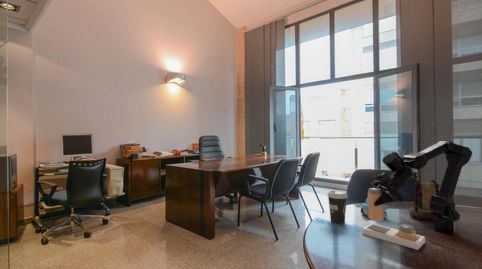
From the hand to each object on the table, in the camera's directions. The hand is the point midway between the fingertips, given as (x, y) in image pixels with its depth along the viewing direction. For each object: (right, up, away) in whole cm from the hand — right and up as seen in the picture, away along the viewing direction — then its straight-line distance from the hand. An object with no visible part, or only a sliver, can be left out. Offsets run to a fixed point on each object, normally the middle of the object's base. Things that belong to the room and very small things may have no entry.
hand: (372, 203), depth 107 cm
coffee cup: (-9, -14, +16) cm, 23 cm away
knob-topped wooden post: (+1, -7, 0) cm, 7 cm away
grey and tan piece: (+8, -12, -10) cm, 18 cm away
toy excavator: (+16, -14, +24) cm, 32 cm away
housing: (+5, -13, -6) cm, 16 cm away
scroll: (+38, -13, +19) cm, 45 cm away
